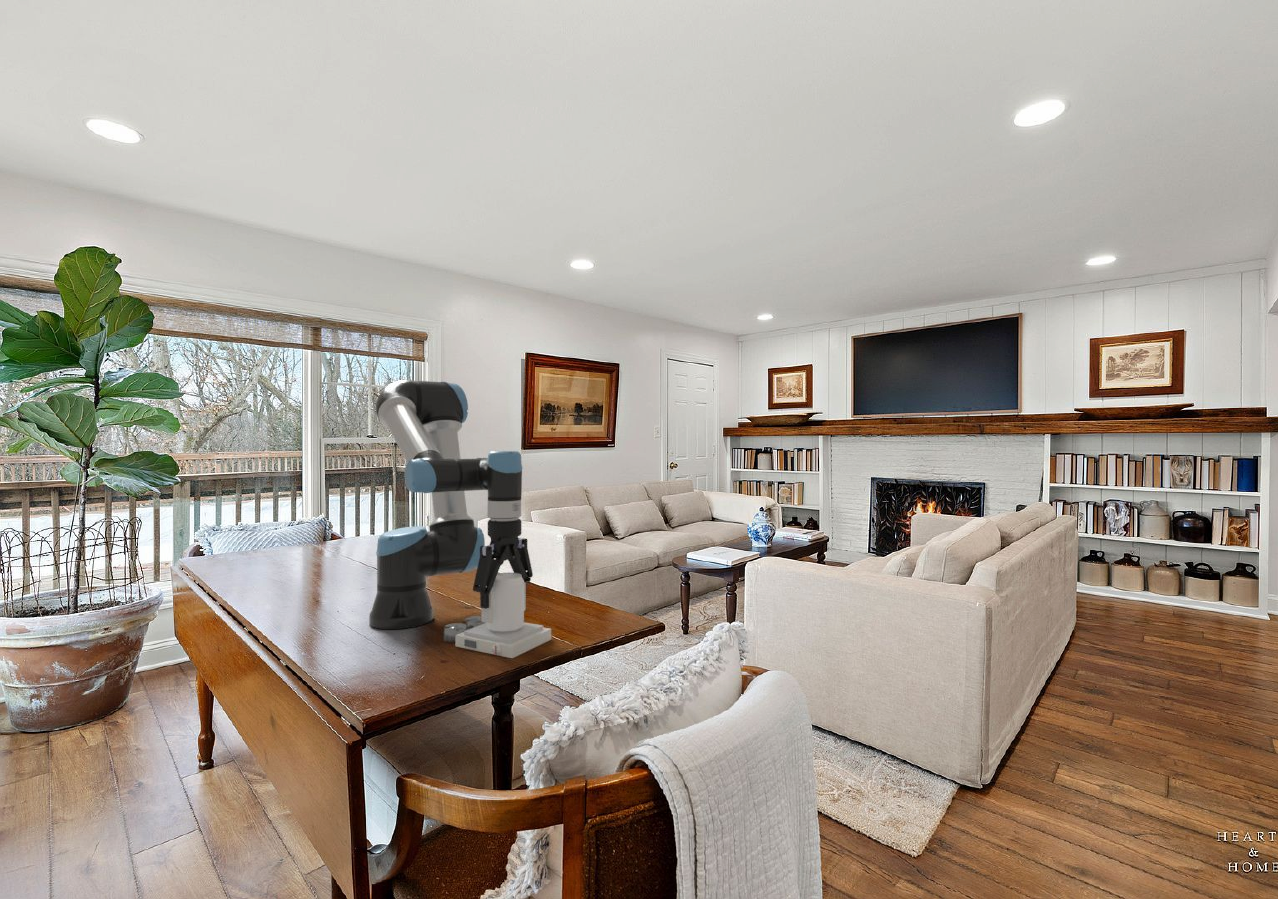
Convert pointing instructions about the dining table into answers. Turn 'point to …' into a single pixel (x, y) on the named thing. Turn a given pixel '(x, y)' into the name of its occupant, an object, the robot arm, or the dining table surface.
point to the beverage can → (507, 603)
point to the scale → (503, 639)
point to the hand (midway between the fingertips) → (504, 615)
